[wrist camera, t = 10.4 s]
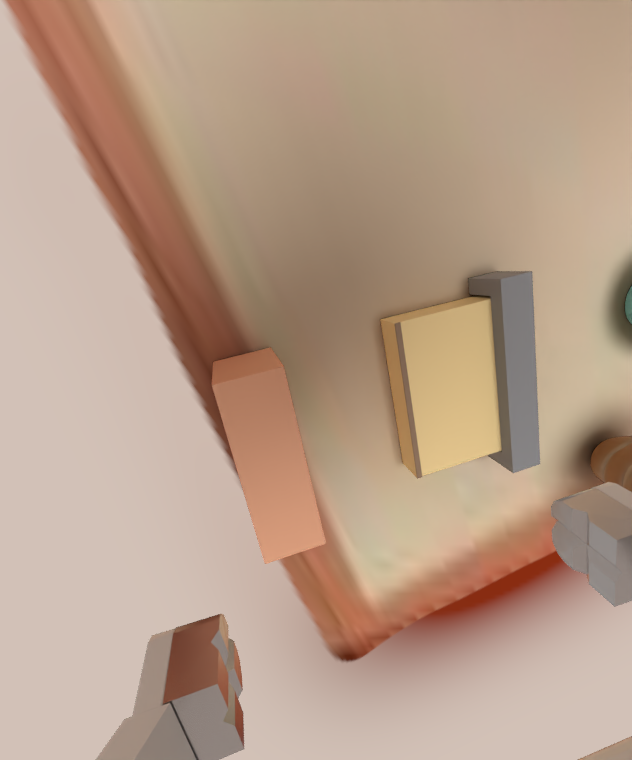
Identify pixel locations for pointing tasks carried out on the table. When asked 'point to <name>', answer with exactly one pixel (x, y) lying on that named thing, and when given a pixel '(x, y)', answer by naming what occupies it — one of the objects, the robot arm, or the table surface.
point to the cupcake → (629, 305)
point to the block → (268, 452)
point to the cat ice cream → (614, 461)
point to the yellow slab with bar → (467, 377)
